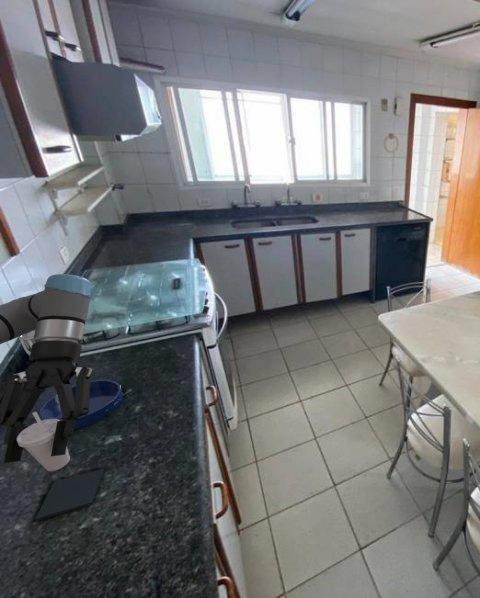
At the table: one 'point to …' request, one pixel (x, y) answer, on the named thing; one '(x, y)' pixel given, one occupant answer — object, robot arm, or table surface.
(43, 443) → the smoothie
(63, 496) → the mat
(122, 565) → the table surface
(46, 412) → the bowl
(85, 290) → the robot arm
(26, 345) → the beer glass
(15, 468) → the table surface
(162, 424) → the table surface
